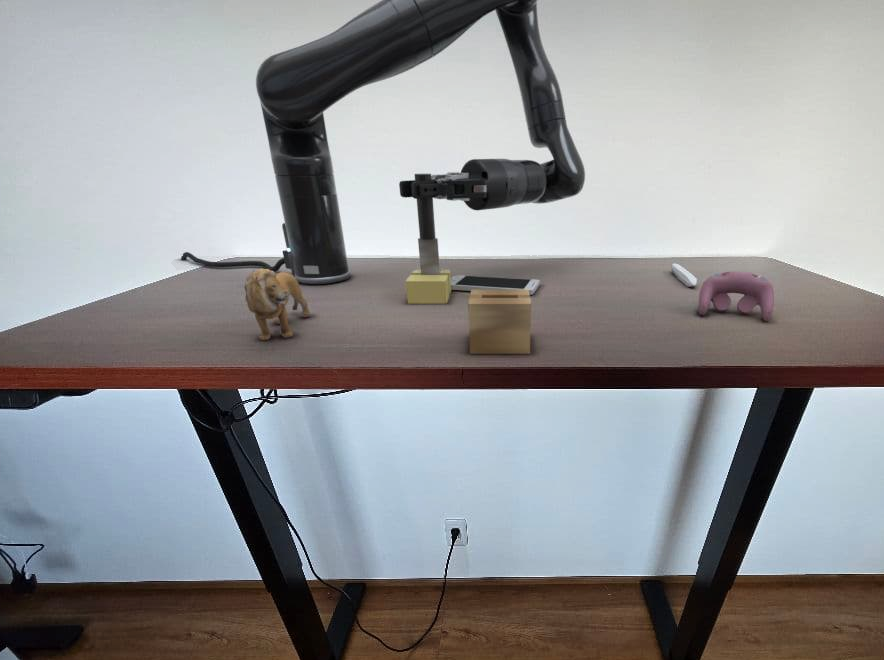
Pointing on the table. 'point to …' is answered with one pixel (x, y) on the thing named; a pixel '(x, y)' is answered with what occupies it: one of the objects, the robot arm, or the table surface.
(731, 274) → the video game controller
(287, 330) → the lion figurine
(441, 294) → the butter
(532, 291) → the smartphone
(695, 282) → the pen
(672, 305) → the table surface
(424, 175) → the knife
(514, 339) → the knife block
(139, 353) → the table surface
